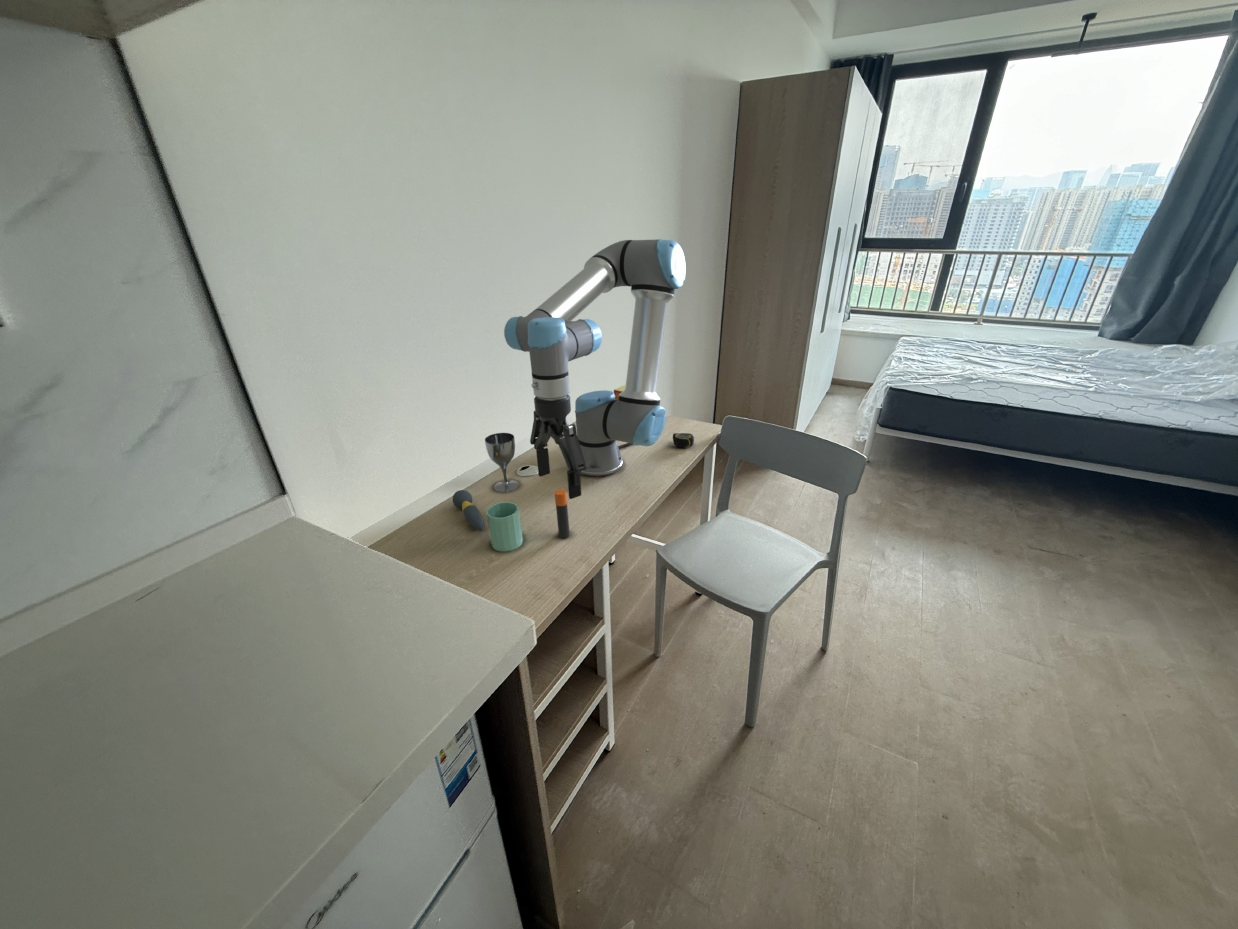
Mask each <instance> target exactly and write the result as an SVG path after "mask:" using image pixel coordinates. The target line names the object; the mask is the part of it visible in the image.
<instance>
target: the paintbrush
mask: <svg viewBox="0 0 1238 929" xmlns="http://www.w3.org/2000/svg"><path fill="white" fill-rule="evenodd" d="M451 499H452V504H453V505H454V507H455V508H456V509H459V510H462V515H463V516H464V518H465V519H466V521H467V522H468V523H469V525H470V526H471V527H473V528H474V529H476V530H477V531H483V530H484V529H485V522H484V519H483V516H482V514H481V512H480V510H479V508H478V507H477V506H476V505H474V504H473V496H472V494H471V492H470V491H468V490H465V489H460V490H457V491H455V492H454V494H453V496H452V498H451Z"/></svg>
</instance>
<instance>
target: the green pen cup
mask: <svg viewBox="0 0 1238 929" xmlns="http://www.w3.org/2000/svg"><path fill="white" fill-rule="evenodd" d="M485 513H486V520H487V525H488V531H489V537H490V543H491V547H492V548H493V549H494V550H495V551H498V552H511V551H514V550H516V549H518V548H519V547H521V546H522V544H523V543H524V536H523V531H522V523H521V522H522V521H521V515H520V508H519V505H518V504H516V503H514V502H513V501H501V502H497V503H494V504H492V505H490V506H489V507H488V508H487V509H486V512H485Z"/></svg>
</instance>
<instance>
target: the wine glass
mask: <svg viewBox="0 0 1238 929" xmlns="http://www.w3.org/2000/svg"><path fill="white" fill-rule="evenodd" d="M484 445H485V449H486V453H487V454H488V455H487V456H488V457H489V459H490V460H491V461H492V462H493V463H495V464H496V465H497V466H498V467H499V468H500V469H501V472H502V475H503V480H501V481H499V482H497V483H495V484H494V486H493V490H494V491H496V492H498V493H509V492H512V491H515V490H517V489H518V488H519V487H520V484H519V482H518V481H516V480H513V479H508V477H507V468H508V465H509V464H510V462H511V461H512V460H513V458H514V456H515V453H516V440H515V435H514V434H513V433H510V432H495V433H493V434H492V433H491V434H489V435H488V436H486V437H485V438H484Z"/></svg>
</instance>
